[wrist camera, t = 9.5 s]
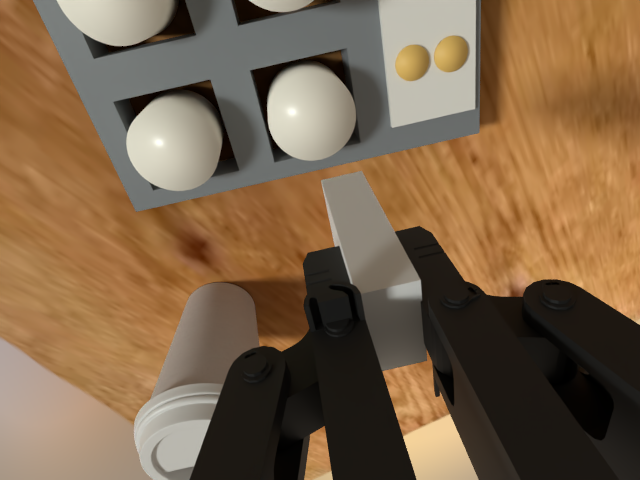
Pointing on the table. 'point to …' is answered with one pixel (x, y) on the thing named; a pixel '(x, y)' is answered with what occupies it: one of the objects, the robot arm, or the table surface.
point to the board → (278, 47)
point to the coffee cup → (194, 379)
